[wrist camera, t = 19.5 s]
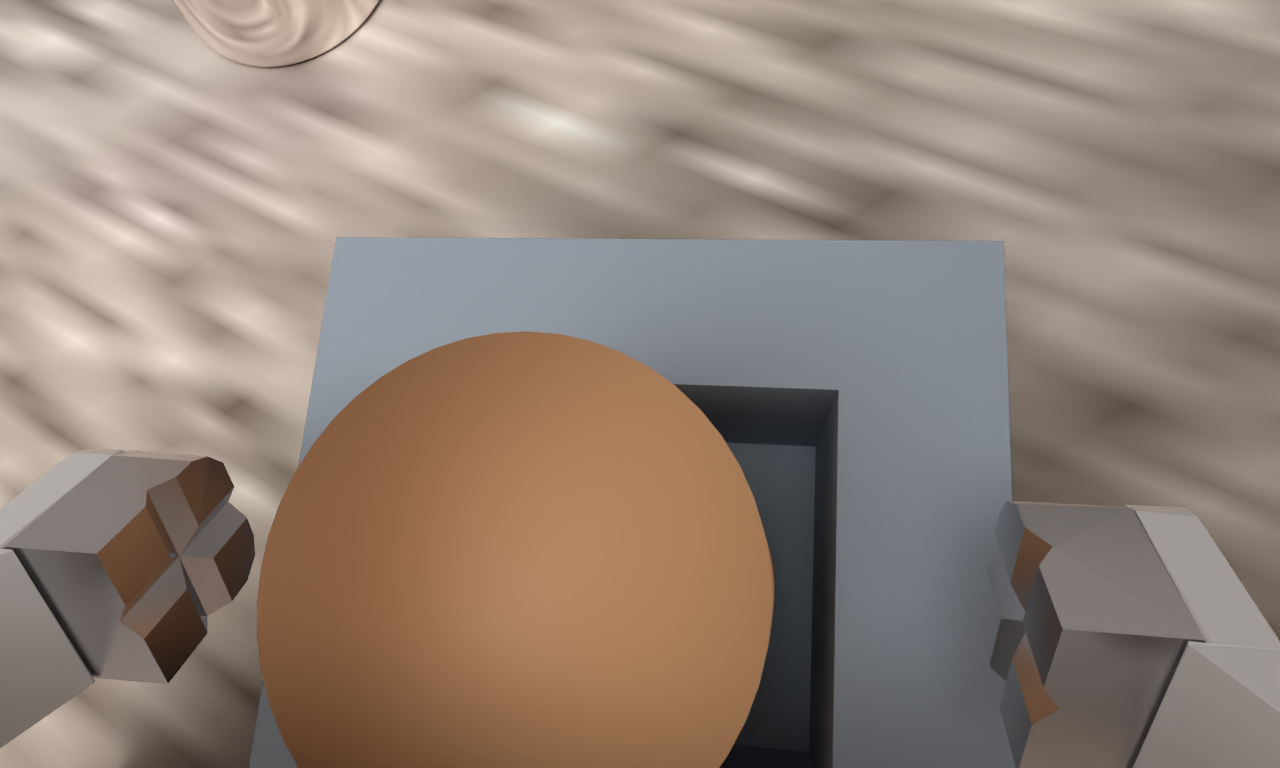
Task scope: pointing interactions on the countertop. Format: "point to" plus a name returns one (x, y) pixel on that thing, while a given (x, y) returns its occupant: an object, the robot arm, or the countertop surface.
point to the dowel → (516, 570)
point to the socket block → (770, 446)
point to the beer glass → (273, 27)
